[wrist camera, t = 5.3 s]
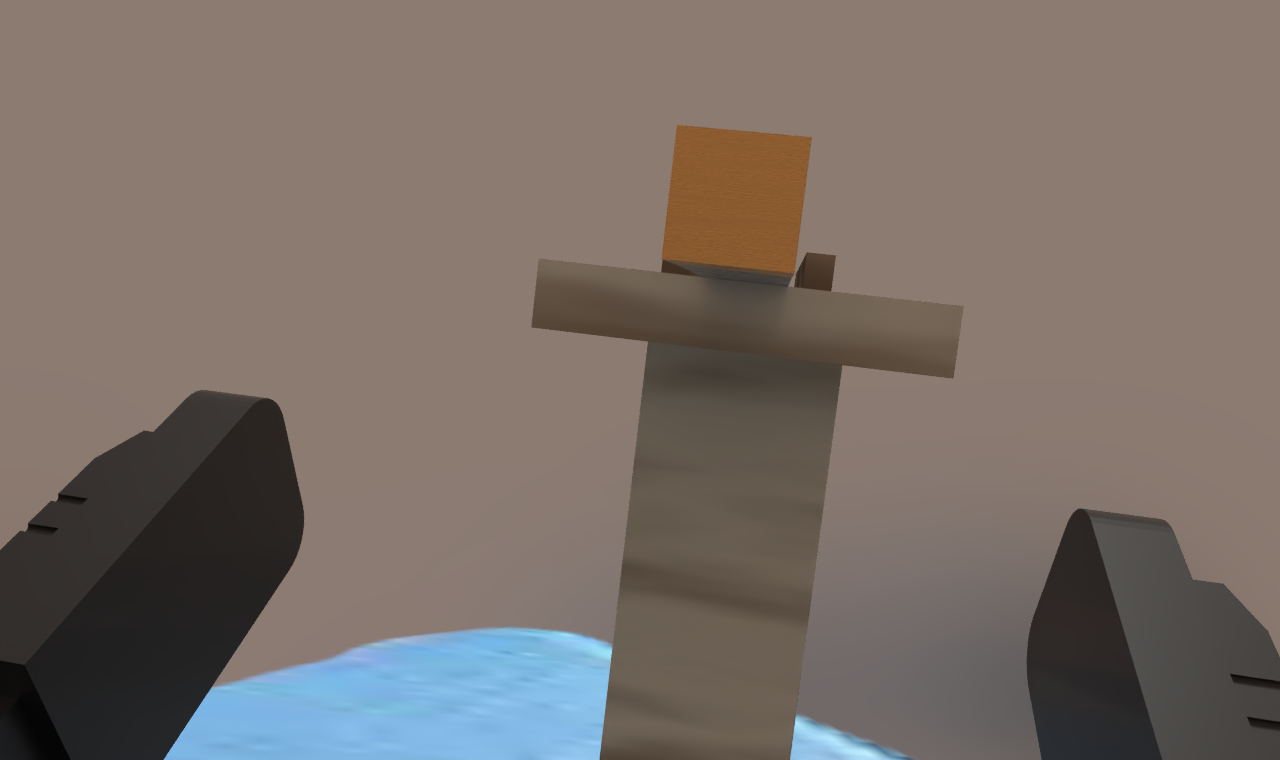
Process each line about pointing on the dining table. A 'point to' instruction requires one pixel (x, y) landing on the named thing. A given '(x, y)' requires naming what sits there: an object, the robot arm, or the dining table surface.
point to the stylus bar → (736, 204)
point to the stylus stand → (728, 486)
